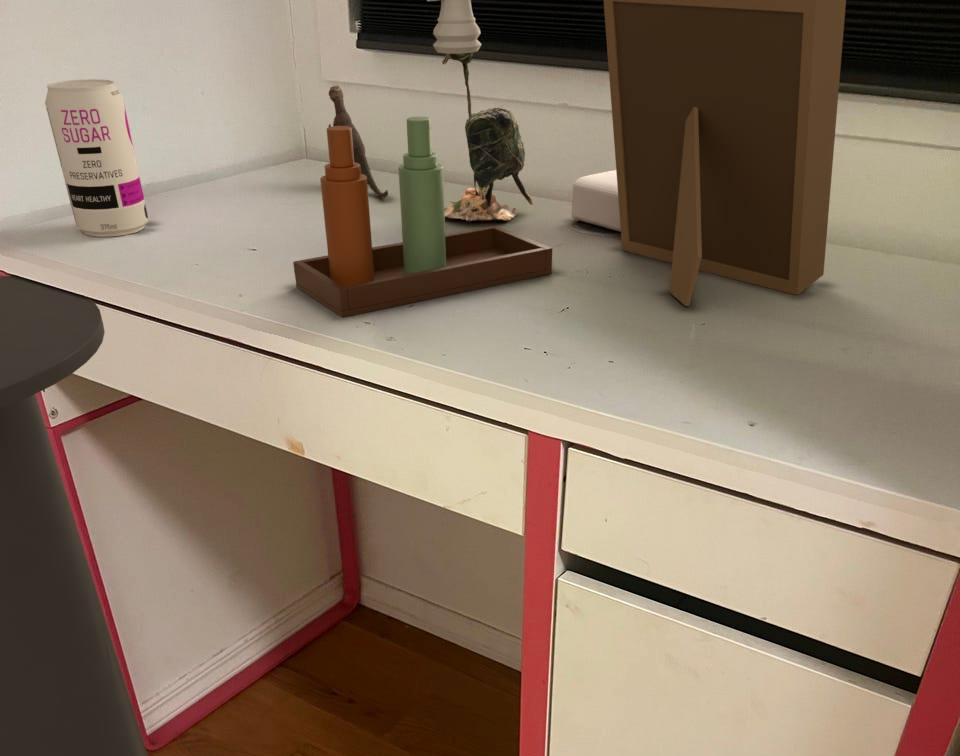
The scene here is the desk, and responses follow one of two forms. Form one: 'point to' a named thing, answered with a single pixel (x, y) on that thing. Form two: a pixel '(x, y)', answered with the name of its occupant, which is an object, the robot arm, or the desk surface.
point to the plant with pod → (488, 158)
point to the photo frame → (726, 135)
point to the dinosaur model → (358, 146)
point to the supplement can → (97, 156)
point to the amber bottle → (346, 212)
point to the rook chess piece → (456, 28)
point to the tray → (428, 271)
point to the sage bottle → (421, 201)
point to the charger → (597, 200)
